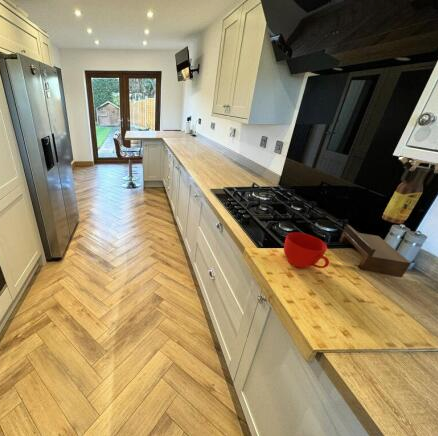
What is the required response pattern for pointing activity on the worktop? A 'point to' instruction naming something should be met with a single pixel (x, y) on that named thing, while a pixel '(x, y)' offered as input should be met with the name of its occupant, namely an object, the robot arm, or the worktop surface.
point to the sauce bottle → (406, 197)
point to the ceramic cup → (304, 250)
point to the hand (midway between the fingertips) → (414, 182)
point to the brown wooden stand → (375, 253)
